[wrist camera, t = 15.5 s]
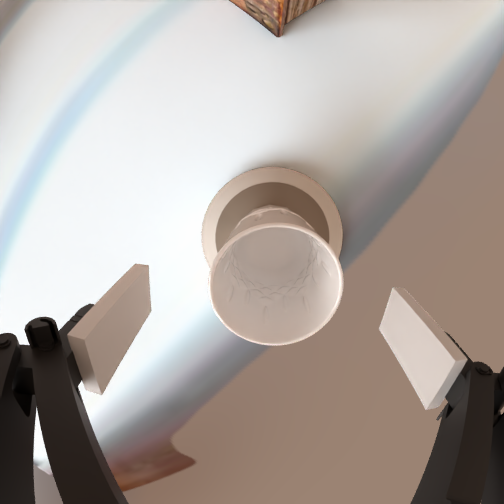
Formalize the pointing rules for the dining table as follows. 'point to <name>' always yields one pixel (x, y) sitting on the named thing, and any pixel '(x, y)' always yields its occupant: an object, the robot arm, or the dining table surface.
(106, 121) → the dining table surface
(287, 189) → the beige saucer
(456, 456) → the robot arm
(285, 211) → the white cup
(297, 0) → the book
